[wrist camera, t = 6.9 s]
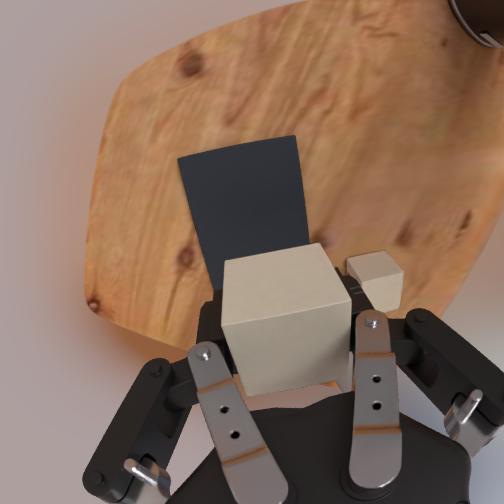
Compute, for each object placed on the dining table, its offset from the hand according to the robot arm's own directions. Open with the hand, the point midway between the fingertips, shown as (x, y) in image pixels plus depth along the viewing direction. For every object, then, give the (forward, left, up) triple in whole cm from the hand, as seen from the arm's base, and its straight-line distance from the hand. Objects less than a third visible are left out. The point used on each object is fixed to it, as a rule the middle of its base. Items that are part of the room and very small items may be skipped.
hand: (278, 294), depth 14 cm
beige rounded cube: (0, 0, 0) cm, 0 cm away
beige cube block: (+9, +10, -13) cm, 19 cm away
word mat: (+4, -1, -13) cm, 14 cm away
